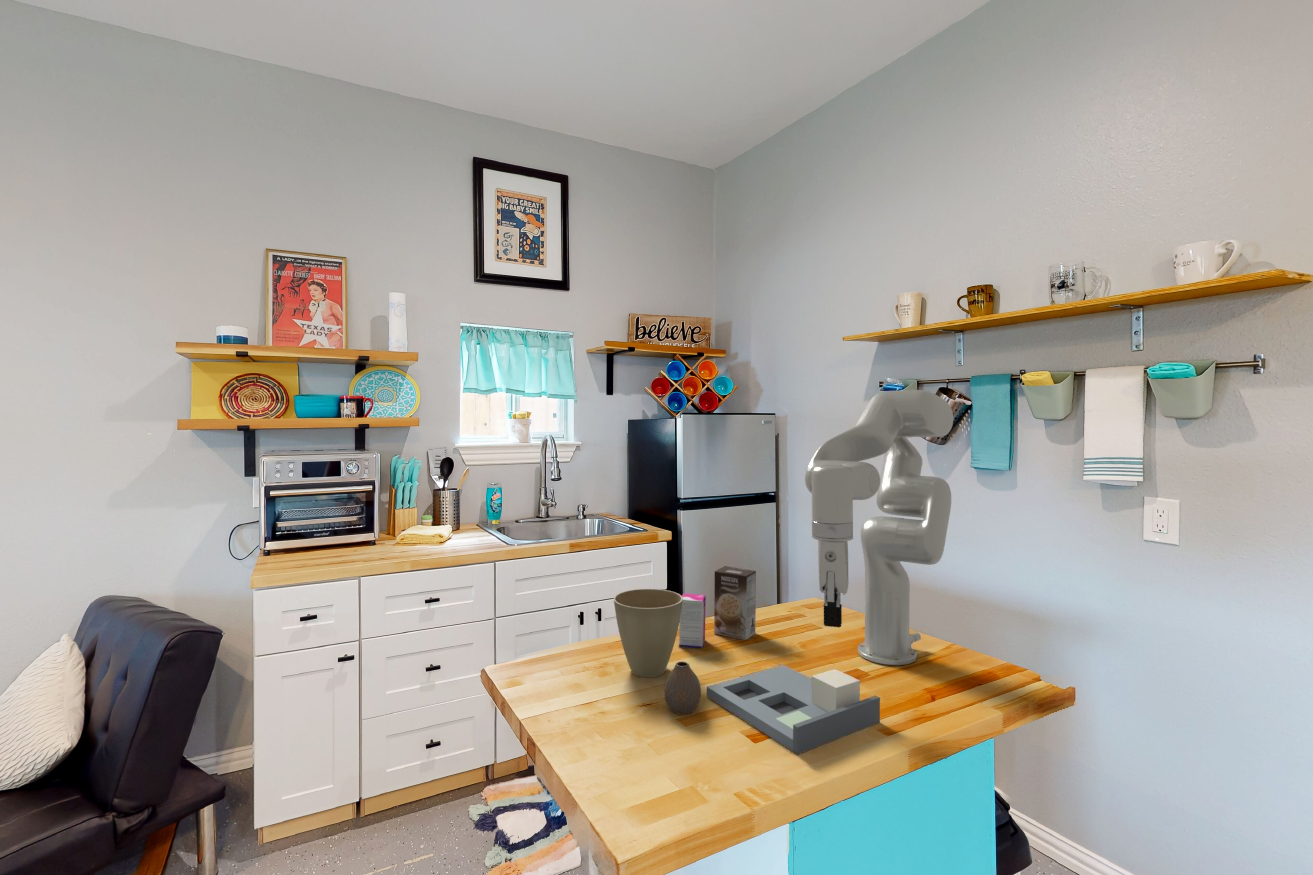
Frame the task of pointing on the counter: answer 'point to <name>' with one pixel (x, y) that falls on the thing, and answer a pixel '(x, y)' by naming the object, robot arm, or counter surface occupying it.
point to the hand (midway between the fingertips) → (832, 625)
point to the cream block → (834, 690)
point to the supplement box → (692, 621)
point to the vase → (682, 689)
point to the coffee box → (735, 602)
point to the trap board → (791, 708)
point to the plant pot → (648, 628)
